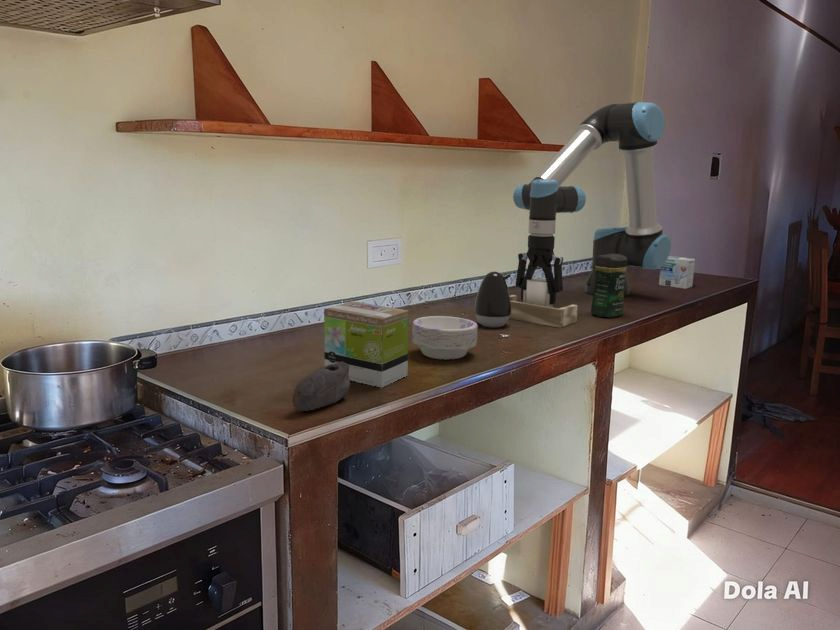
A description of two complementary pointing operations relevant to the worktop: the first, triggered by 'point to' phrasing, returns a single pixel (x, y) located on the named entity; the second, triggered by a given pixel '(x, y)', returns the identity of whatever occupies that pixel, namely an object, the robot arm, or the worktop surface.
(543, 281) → the white domed cylinder
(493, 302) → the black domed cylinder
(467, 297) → the worktop surface
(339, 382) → the perforated stone tool
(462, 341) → the paper bowls
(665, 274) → the light bulb box
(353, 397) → the worktop surface
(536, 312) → the rest cradle
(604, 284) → the coffee jar
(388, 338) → the tea box
